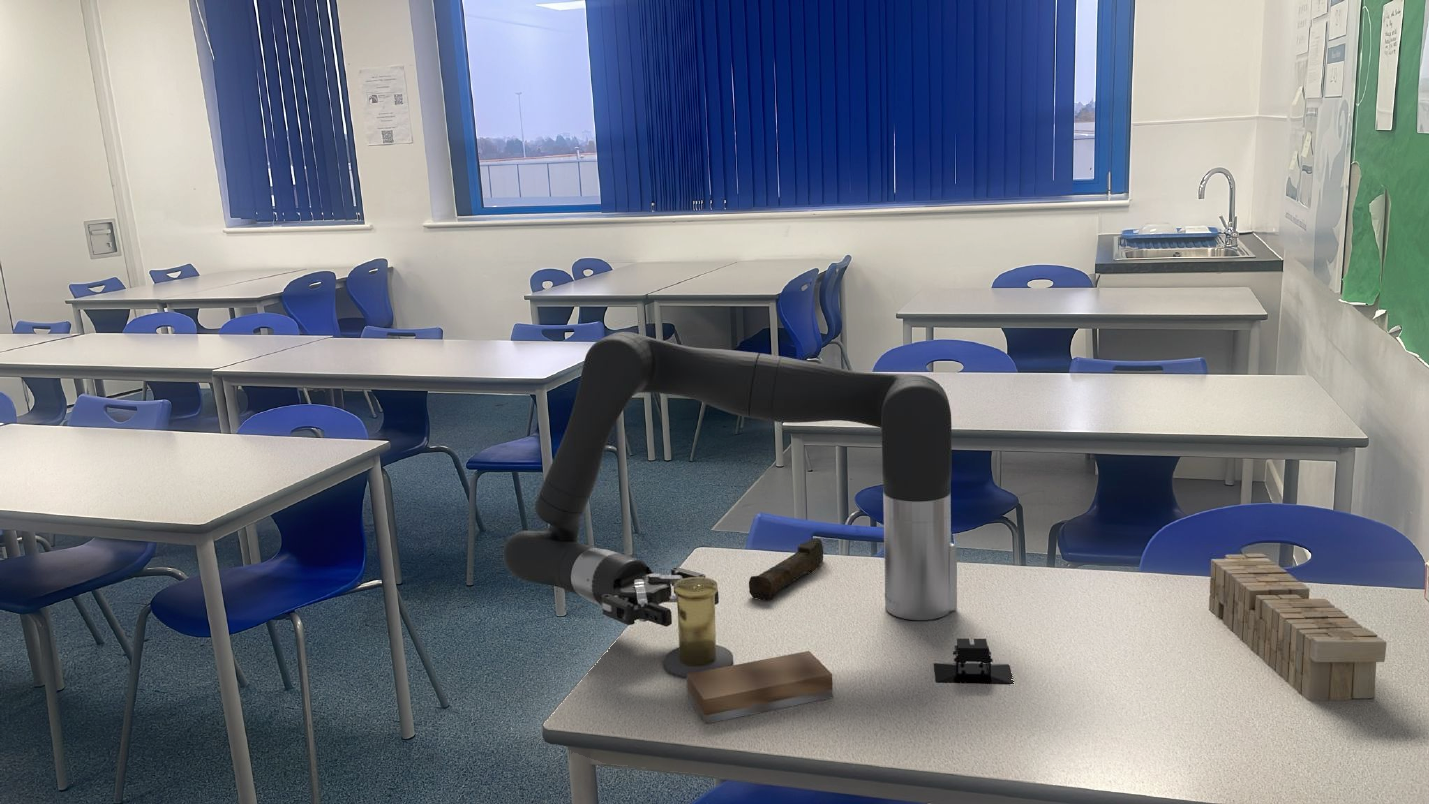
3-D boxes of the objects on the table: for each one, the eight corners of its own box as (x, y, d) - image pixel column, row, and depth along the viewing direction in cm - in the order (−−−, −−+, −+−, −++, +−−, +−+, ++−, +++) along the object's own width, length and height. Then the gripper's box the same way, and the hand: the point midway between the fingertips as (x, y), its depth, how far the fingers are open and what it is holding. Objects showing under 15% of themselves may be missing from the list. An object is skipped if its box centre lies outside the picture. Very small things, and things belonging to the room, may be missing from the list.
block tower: (1203, 613, 148) (1310, 708, 120) (1205, 555, 147) (1314, 637, 118) (1261, 611, 148) (1383, 706, 119) (1263, 552, 147) (1387, 635, 118)
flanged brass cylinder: (711, 646, 142) (709, 574, 140) (725, 663, 136) (723, 589, 134) (671, 652, 140) (668, 580, 138) (683, 670, 135) (680, 595, 133)
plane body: (809, 673, 134) (809, 650, 133) (832, 697, 127) (832, 674, 127) (687, 697, 129) (686, 674, 129) (705, 723, 123) (704, 699, 122)
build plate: (1020, 665, 134) (1020, 631, 133) (1028, 692, 127) (1029, 657, 126) (920, 664, 136) (919, 630, 135) (922, 690, 129) (922, 655, 128)
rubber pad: (720, 643, 144) (720, 638, 144) (742, 670, 135) (742, 666, 135) (656, 654, 141) (655, 650, 141) (674, 683, 133) (674, 679, 133)
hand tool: (769, 604, 157) (769, 575, 156) (747, 598, 159) (746, 570, 158) (838, 565, 171) (838, 538, 170) (817, 560, 174) (816, 533, 173)
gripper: (568, 568, 142) (651, 597, 131) (647, 540, 152) (730, 564, 141) (572, 621, 144) (655, 654, 132) (650, 589, 154) (732, 617, 142)
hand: (693, 607), depth 137 cm, fingers open, 8 cm apart
